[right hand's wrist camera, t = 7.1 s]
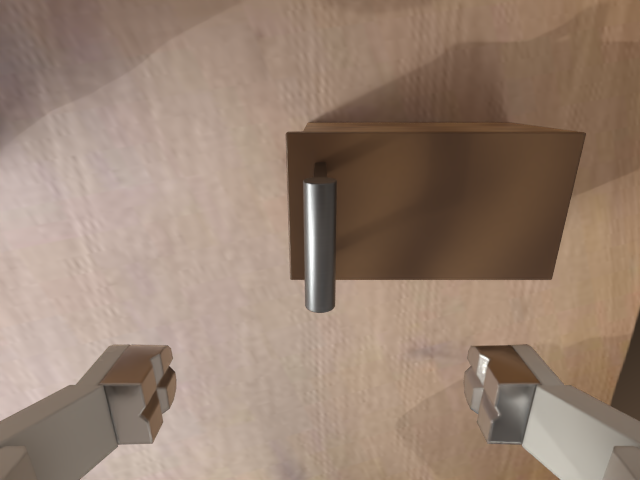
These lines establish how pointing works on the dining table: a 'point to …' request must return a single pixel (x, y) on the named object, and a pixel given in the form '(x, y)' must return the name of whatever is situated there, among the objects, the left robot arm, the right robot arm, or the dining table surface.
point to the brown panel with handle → (426, 206)
